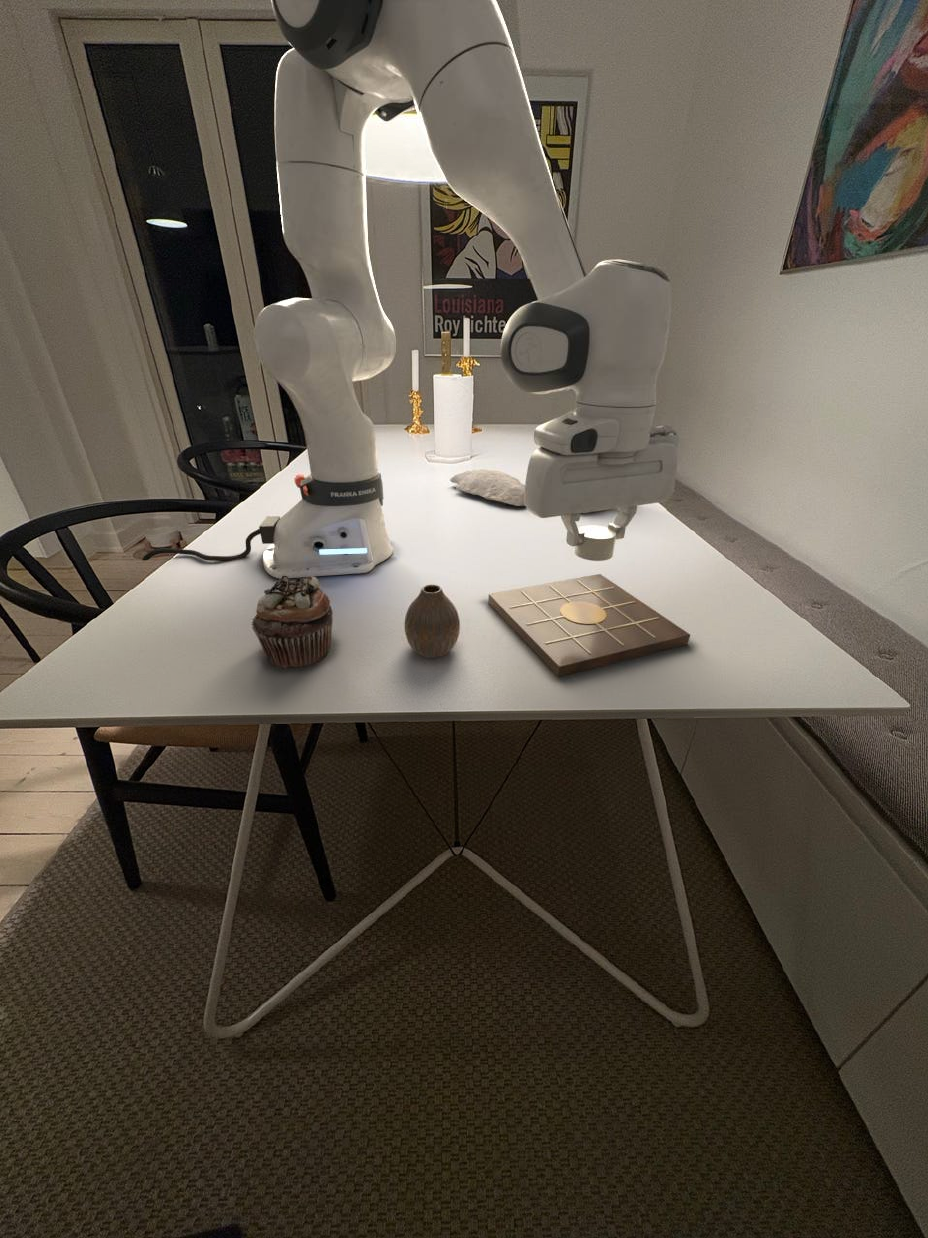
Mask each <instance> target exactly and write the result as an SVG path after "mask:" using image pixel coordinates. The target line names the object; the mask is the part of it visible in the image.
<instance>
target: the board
mask: <svg viewBox="0 0 928 1238" xmlns="http://www.w3.org/2000/svg"><path fill="white" fill-rule="evenodd" d="M487 600H488V602H487V603H488V604H489V605H490V606H491V607H492V609H494V611H496V613H497V614H498V615H499V616H500V617H501V618H502V619H503V620H504V621H505V622H506V623H507V624H508V626H510V628H512V630H514V632H515V633H516V634H517V635H518V636H519V637H520V638H521V639H522V640H523V641H524V642H525V644H527V645H528V646H529V648H530V649H531V650H532V651H533V652H534V653H535V654H536V655H537V656H538V657H539V659H541V660H542V661H543V663H545V665H546V666H547V667H548V668H549V669H550V670H551V671H552V672H553V673H554V674H555V675H556V676H557V678H558V677H564V676H567V675H571V674H575V673H579V672H583V671H587V670H591V669H595V668H599V667H602V666H603V667H604V666H607V665H610V664H614V663H618V662H623V661H626V660H627V661H628V660H630V659H634V658H638V657H642V656H646V655H650V654H654V653H658V652H662V651H665V650H670V649H674V648H677V647H682V646H686V645H688V644H689V642H690V638H691V634H690V633H689V632H688V631H686V630H685V629H683V628H681V627H680V626H679V625H677V624H675V623H674V622H673V621H671V620H669V619H668V618H666V617H665V616H663V614H660V613H659V612H658V611H656V610H655V609H653V608H652V607H650V606H648V605H647V604H646V603H644V602H643V601H641V600H639V599H638V598H637V597H635V596H634V595H632V594H631V593H629V592H628V591H626V590H625V589H623V588H621V587H620V586H619V585H617V584H616V583H614V582H613V581H612V580H610V579H609V578H607V577H605V576H604V575H603V574H601V573H598V574H592V575H587V576H580V577H575V578H570V579H565V580H559V581H554V582H548V583H542V584H536V585H531V586H525V587H520V588H515V589H509V590H503V591H498V592H493V593H488V599H487Z"/></svg>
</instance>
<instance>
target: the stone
mask: <svg viewBox="0 0 928 1238" xmlns="http://www.w3.org/2000/svg"><path fill="white" fill-rule="evenodd" d="M449 481H450V482H451V483H453V484H457V485H456V486H455V490H457V491H460V492H463V493H467V494H471V495H473V496H474V495H475V496H479V497H482V498H483V499H485V500H489V501H496V502H500V503H504V504H508V505H510V506H511V505H512V506H516V507H524V506H525V503H524V491H525V483H522V482H521V481H520V480H519V479H518V478H517V477H514V476H511V475H509V474H507V473H505V472H503V471H500V470H492V469H491V470H489V469H474V470H473V469H472V470H467V471H463V472H462V473H458V474H455V475H453V476H452V477H451V478H450V479H449ZM525 507H526V506H525Z"/></svg>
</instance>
